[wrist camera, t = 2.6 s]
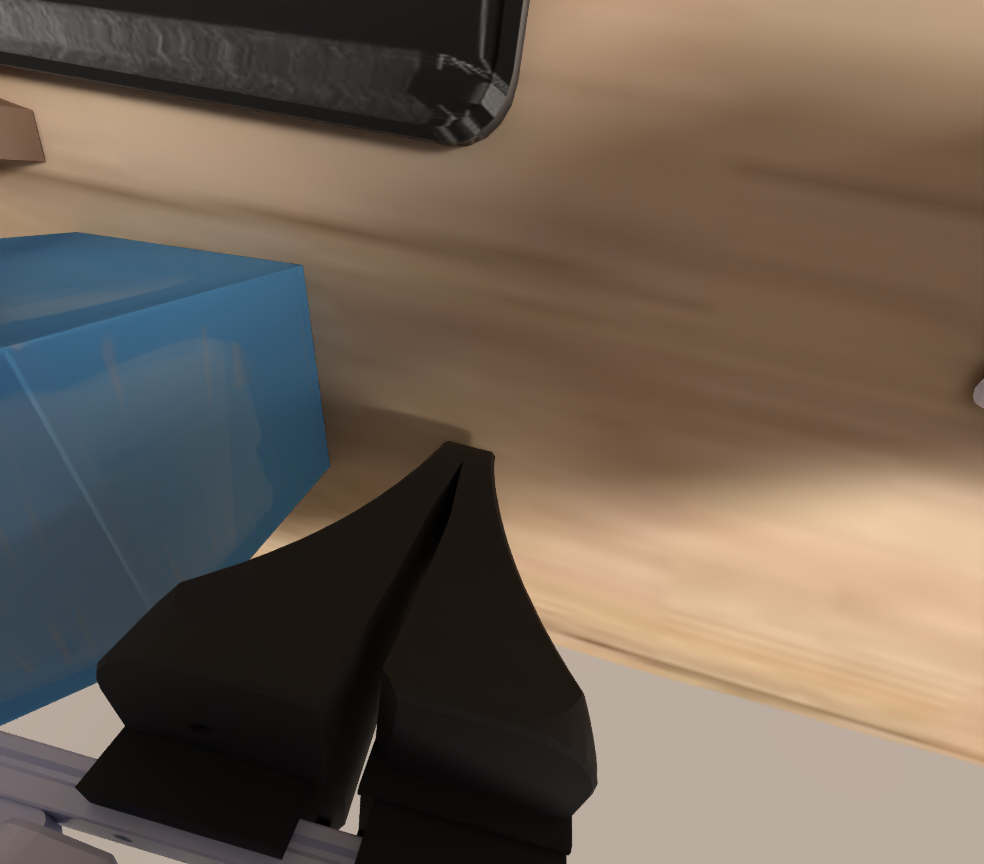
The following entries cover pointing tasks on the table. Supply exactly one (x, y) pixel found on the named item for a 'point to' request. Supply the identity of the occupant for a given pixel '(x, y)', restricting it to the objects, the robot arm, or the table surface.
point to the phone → (291, 56)
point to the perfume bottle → (138, 437)
